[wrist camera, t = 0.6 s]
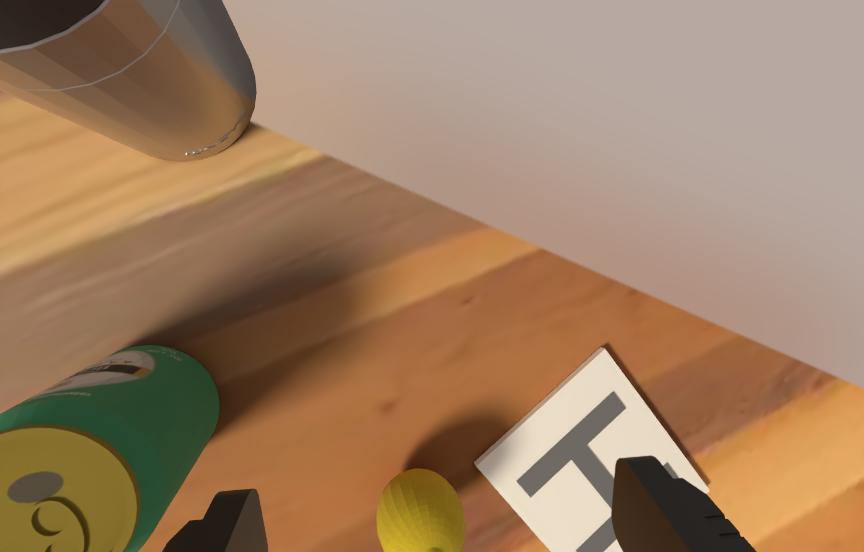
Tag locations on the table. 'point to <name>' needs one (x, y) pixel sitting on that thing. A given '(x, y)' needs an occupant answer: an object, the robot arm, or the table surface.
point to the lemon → (420, 514)
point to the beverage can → (103, 452)
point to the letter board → (579, 456)
